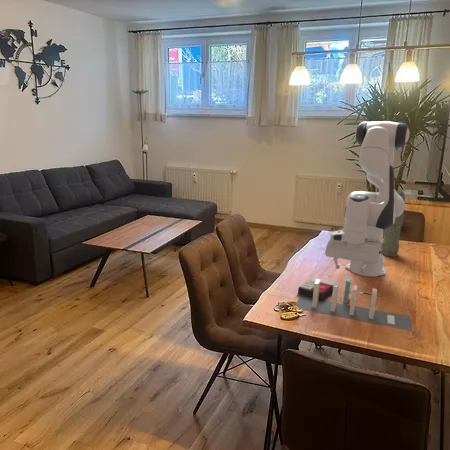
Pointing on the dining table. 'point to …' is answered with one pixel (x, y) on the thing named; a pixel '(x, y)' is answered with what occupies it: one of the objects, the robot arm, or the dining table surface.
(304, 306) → the domino mat
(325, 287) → the calculator
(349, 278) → the domino
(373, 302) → the domino
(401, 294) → the dining table surface
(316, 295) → the domino
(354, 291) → the domino
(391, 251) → the thermos
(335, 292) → the domino
